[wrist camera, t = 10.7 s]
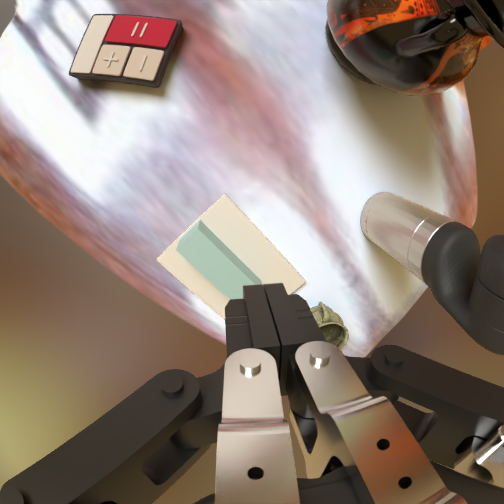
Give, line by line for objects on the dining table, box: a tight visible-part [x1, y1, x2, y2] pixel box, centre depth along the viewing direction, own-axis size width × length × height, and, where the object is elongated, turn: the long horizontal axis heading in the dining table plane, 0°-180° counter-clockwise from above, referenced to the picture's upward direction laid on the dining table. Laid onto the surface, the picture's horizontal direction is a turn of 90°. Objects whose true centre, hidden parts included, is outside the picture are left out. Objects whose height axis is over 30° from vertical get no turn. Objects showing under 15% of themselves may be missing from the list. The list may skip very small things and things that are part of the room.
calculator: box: [69, 14, 183, 88], centre depth 28 cm, size 11×4×15 cm
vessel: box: [310, 302, 349, 350], centre depth 49 cm, size 12×9×6 cm
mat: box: [157, 194, 306, 319], centre depth 45 cm, size 20×15×1 cm
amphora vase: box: [325, 0, 504, 96], centre depth 20 cm, size 22×22×28 cm
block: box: [176, 220, 262, 299], centre depth 42 cm, size 4×4×14 cm
